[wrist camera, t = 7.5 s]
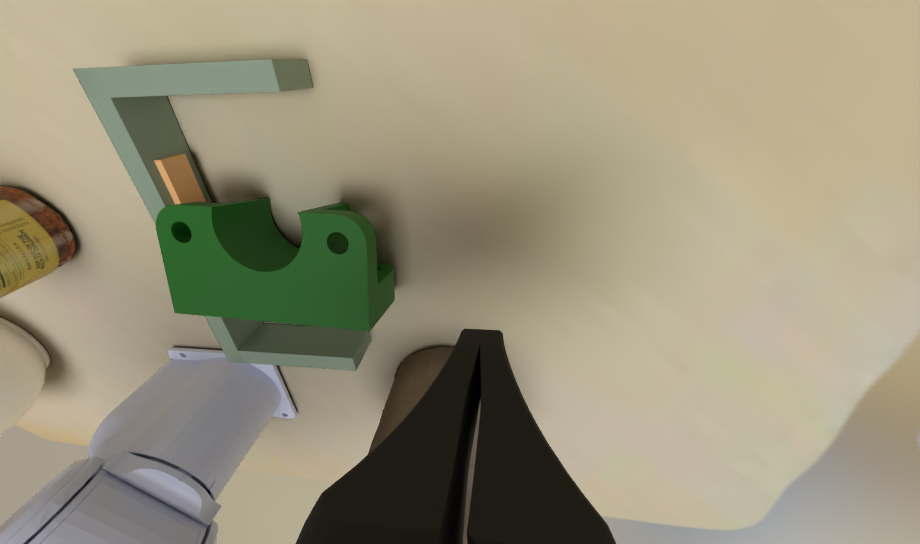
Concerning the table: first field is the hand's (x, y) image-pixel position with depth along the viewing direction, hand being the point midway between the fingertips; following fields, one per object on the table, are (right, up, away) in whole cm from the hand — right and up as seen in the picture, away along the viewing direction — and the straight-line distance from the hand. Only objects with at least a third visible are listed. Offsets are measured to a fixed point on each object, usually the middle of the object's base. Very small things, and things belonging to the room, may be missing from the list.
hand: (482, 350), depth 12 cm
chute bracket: (-12, +5, +10) cm, 17 cm away
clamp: (-10, +5, +10) cm, 15 cm away
